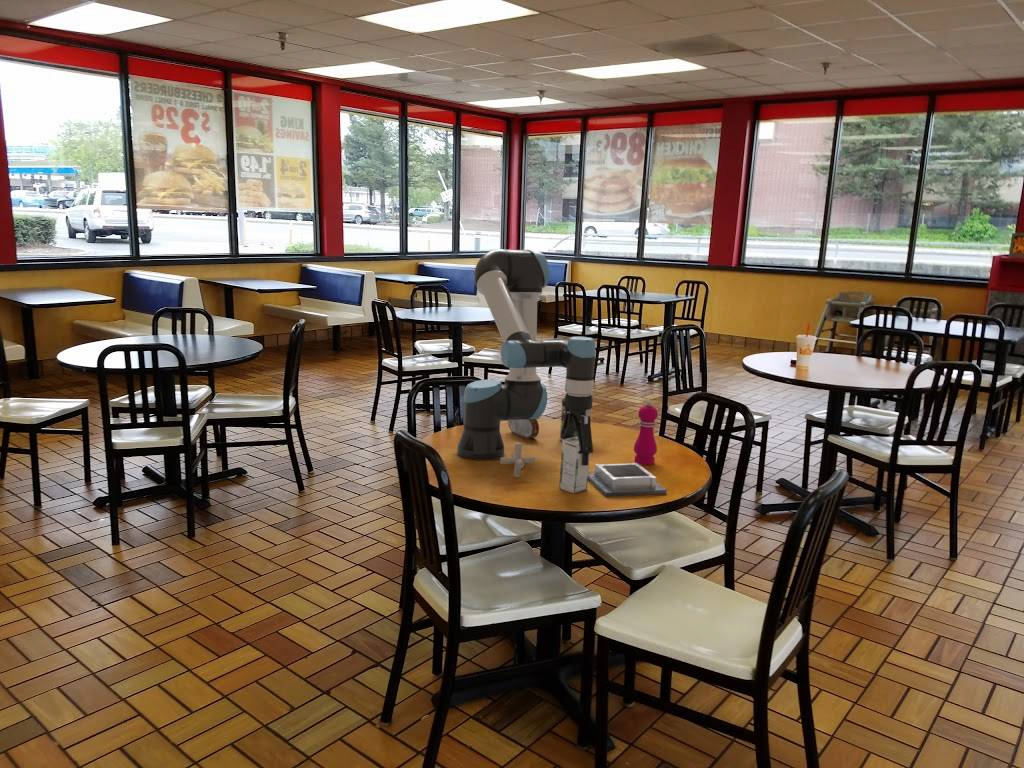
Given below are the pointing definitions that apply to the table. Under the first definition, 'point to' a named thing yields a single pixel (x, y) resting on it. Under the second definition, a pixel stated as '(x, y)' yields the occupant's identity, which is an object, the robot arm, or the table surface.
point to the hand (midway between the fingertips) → (574, 468)
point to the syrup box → (571, 467)
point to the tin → (524, 427)
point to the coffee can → (564, 417)
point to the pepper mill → (646, 435)
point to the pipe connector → (517, 459)
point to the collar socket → (624, 480)
